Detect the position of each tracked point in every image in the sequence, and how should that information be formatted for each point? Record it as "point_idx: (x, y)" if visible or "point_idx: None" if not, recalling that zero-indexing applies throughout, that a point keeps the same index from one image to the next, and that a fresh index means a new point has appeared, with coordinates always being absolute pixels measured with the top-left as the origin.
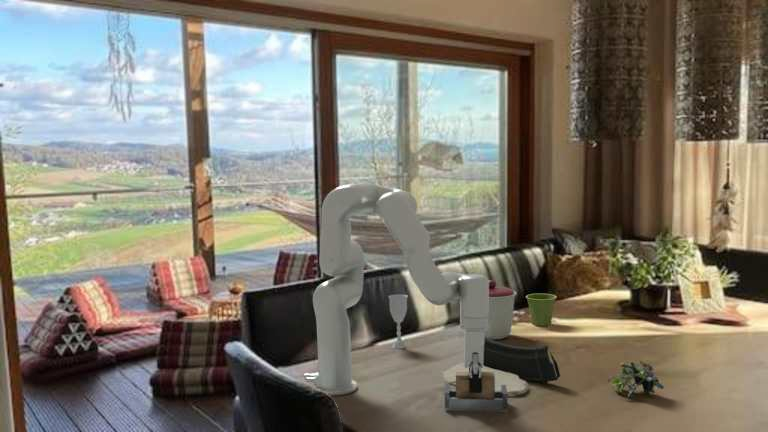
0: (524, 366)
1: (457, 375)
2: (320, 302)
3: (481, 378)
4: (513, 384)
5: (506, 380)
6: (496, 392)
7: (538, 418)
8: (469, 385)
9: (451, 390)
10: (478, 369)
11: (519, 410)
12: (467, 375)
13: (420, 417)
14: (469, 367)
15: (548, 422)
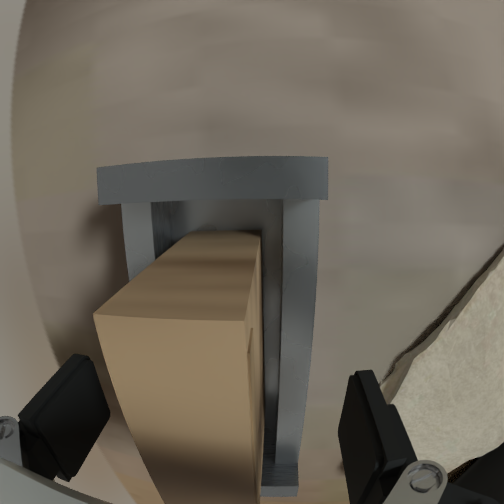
0: (501, 477)
1: (99, 332)
2: None
3: (59, 473)
4: (431, 456)
5: (474, 432)
6: (276, 448)
7: None
8: (51, 380)
9: (303, 206)
10: (352, 486)
11: None
12: (127, 423)
13: (73, 66)
14: (376, 454)
15: (136, 483)
